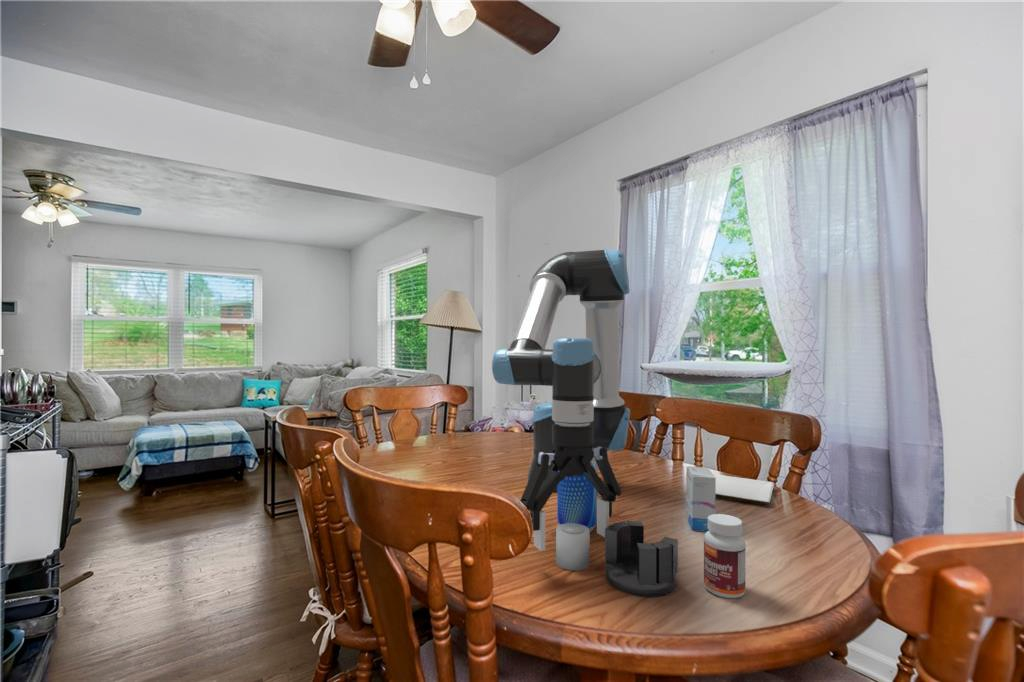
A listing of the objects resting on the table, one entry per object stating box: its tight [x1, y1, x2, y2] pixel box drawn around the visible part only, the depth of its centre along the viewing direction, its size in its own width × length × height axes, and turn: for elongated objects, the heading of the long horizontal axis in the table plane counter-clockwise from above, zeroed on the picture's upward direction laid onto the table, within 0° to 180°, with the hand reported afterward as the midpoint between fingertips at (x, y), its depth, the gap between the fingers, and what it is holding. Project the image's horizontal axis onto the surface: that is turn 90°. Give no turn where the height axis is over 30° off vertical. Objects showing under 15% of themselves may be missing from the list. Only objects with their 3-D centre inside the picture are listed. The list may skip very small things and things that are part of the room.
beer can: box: [556, 458, 598, 533], centre depth 102 cm, size 8×8×16 cm
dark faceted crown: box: [604, 520, 679, 598], centre depth 80 cm, size 12×12×8 cm
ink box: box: [684, 465, 716, 532], centre depth 104 cm, size 9×5×12 cm, turn 168°
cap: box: [555, 523, 591, 571], centre depth 86 cm, size 6×6×6 cm
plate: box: [712, 473, 775, 505], centre depth 127 cm, size 19×19×2 cm
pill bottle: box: [703, 513, 746, 599], centre depth 76 cm, size 6×6×11 cm
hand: (572, 541), depth 85 cm, fingers open, 13 cm apart
